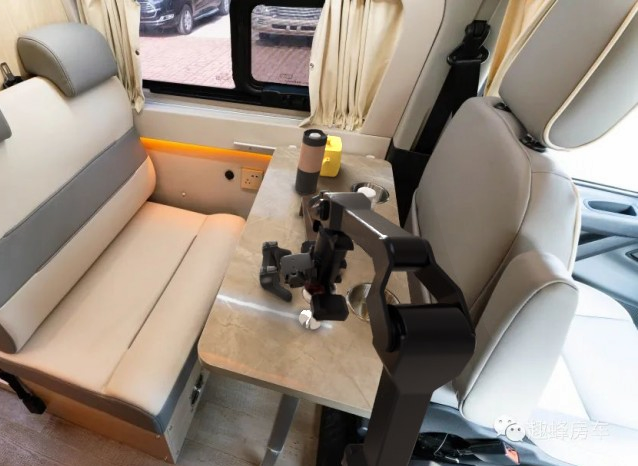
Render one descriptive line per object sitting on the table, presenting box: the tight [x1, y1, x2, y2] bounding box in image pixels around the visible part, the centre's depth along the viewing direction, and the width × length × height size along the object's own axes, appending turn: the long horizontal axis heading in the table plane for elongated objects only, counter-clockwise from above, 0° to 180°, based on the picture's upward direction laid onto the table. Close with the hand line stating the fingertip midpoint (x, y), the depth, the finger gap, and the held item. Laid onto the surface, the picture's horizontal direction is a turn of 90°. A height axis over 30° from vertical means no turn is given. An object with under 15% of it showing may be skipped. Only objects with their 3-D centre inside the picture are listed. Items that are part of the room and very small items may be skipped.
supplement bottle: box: [357, 186, 377, 211], centre depth 94 cm, size 7×7×13 cm
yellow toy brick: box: [319, 135, 343, 178], centre depth 120 cm, size 20×12×12 cm, turn 167°
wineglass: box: [298, 279, 338, 330], centre depth 71 cm, size 7×7×12 cm
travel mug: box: [294, 128, 329, 195], centre depth 107 cm, size 8×8×20 cm
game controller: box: [258, 240, 293, 303], centre depth 82 cm, size 16×7×10 cm, turn 171°
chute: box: [298, 196, 343, 276], centre depth 91 cm, size 25×8×7 cm, turn 177°
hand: (314, 302), depth 71 cm, fingers open, 9 cm apart
